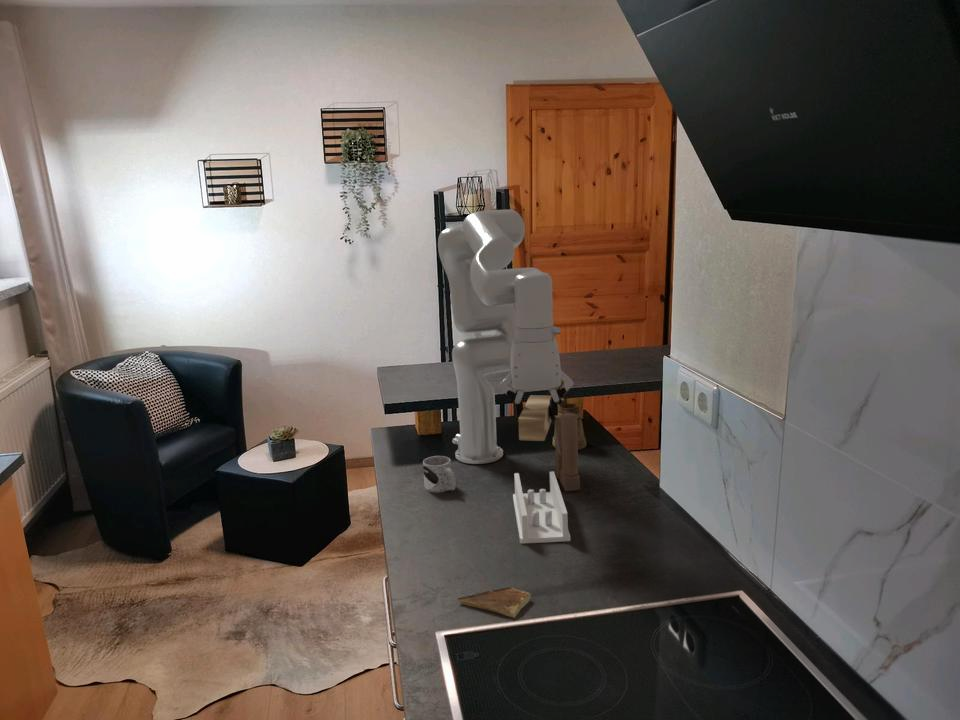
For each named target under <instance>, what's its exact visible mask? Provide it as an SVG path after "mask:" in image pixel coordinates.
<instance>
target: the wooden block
mask: <svg viewBox="0 0 960 720" xmlns="http://www.w3.org/2000/svg"><path fill="white" fill-rule="evenodd" d="M554 433H555V447H556V448H555V447H554V449H555V451H554V454H555V457H554V459H555V461H554V462H555V476H556V478H557V479H558V480H559V482H560V484H561V486H562V488H563V490H564V492H573V491H580V490H581V477H580V475H579V457H578V456H579V452H578V451H579V450H578V438H577V415H576V414H574V413H564V414H562V416H561V419H557V420H556V419H555V421H554Z"/></svg>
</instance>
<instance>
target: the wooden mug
mask: <svg viewBox="0 0 960 720" xmlns="http://www.w3.org/2000/svg"><path fill="white" fill-rule="evenodd" d="M564 383H565V382H564V381H563V380H562V379H561V385H560V387H561V386H563V384H564ZM560 387H558V388H556V389H555V390H556V391H557V390H558V389H559V388H560ZM570 389H571V388H570ZM570 389H569V390H567V391H566V393H565V394H564V395H563V396H562V397H561V398H560V399H559V401H558V416H555V420H557V419H561V416H562V414H564V413H574V414H576V415H577V438H578V451H579V450H582V449H585V448H586V447H587V440H586V439H587V438H586V437H585V432H584V427H583V421H582V414H583V413H582V409H581V407H580V404H578V403H575V402H574V403H568V399H567V396H568V395H569V393H570V391H571V390H570ZM552 446H553V447H554V449H555V448H556V447H555V432H554V436H552Z"/></svg>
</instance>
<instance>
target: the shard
mask: <svg viewBox="0 0 960 720" xmlns="http://www.w3.org/2000/svg"><path fill="white" fill-rule="evenodd" d="M530 598H531V593H530V592H528V591H523V590H520V589H516V588H514V587H513V586H509V587H508V586H507V587H504V588H499V589H492V590H488V591H483V592H479V593H475V594H472V595H469V596H462V597H458V598H457V600H458V601H459V602H460V605H464V606H466V607H467V606H468V607H473V608H477V609H482V610H487V611H490V612H494V613H497V614H500V615H503V616H507V617H508V618H509V617H511V618H513V619H514V618H516V616H517V615H519V613H520V611H521V610H522V609H523V608H524V607H525V606H526V605H527V604H528V603H529V601H530V600H531V599H530Z"/></svg>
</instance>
